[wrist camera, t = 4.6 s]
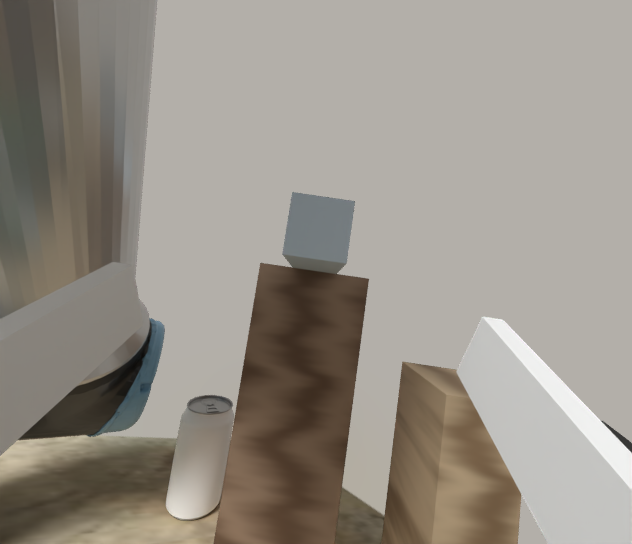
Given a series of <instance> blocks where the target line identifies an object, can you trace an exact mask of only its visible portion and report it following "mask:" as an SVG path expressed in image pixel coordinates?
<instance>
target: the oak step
mask: <svg viewBox="0 0 632 544" xmlns="http://www.w3.org/2000/svg"><path fill="white" fill-rule="evenodd" d="M456 371H457V370H455V369H448V368H441V367H435V366H428V365H421V364H415V363H408V362H402V372H401V379H400V389H399V397H398V405H397V414H396V423H395V431H394V440H393V448H392V457H391V466H390V474H389V484H388V492H387V500H386V509H385V517H384V526H383V535H382V543H381V544H518V531H519V518H520V504H521V493H520V491H519V489H518V487H517V485H516V483H515V481H514V479H513V478H512V476H511V474H510V472H509V470H508V468H507V466H506V464H505V463H504V461H503V459H502V457H501V455H500V453H499V451H498V449H497V447H496V446H495V444H494V442H493V440H492V438H491V436H490V434H489V432H488V431H487V429H486V427H485V425H484V423H483V421H482V419H481V417H480V416H479V414H478V412H477V410H476V408H475V406H474V404H473V402H472V401H471V399H470V397H469V395H468V393H467V391H466V389H465V387H464V386H463V384H462V382H461V380H460V378H459V376H458V374H457V372H456Z"/></svg>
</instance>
